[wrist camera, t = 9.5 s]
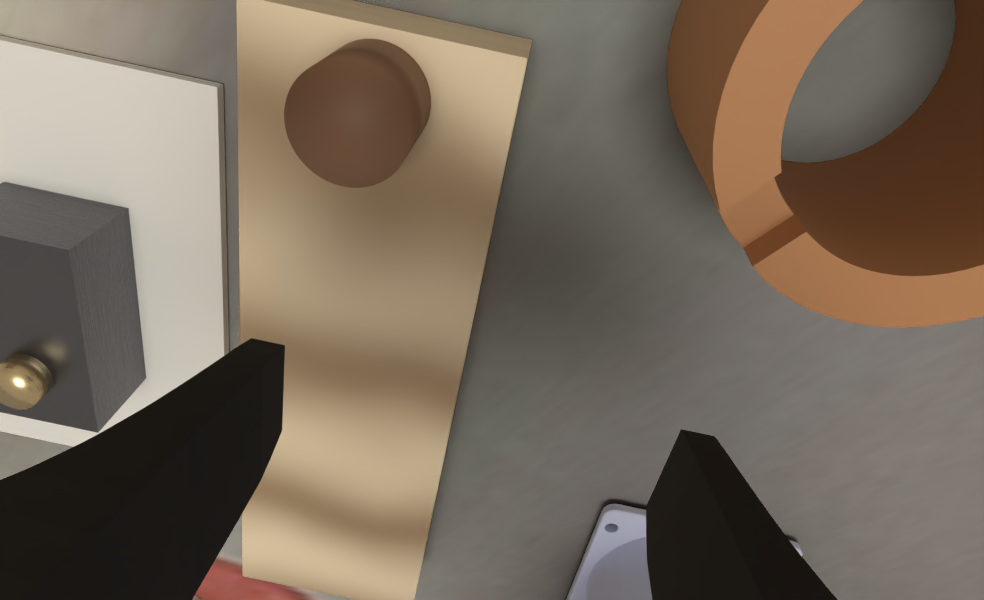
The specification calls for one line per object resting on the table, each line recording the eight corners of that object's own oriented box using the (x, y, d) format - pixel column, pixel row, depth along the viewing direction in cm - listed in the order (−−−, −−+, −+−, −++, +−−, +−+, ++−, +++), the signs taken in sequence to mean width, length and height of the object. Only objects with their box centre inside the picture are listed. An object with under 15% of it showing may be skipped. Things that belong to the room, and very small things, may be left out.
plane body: (423, 559, 29) (398, 671, 25) (266, 526, 29) (214, 634, 25) (532, 39, 18) (521, 82, 14) (276, -17, 18) (184, 8, 14)
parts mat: (231, 471, 28) (227, 478, 27) (-8, 421, 28) (-15, 428, 27) (223, 84, 19) (216, 87, 19) (-119, 9, 19) (-131, 11, 19)
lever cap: (146, 378, 25) (83, 449, 22) (40, 355, 25) (-39, 423, 22) (128, 208, 21) (49, 263, 18) (4, 181, 21) (-97, 232, 18)
